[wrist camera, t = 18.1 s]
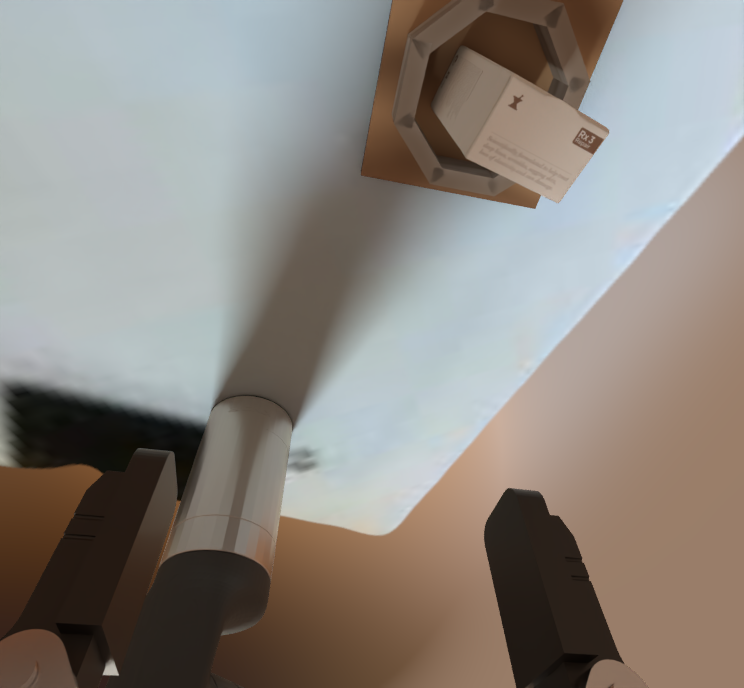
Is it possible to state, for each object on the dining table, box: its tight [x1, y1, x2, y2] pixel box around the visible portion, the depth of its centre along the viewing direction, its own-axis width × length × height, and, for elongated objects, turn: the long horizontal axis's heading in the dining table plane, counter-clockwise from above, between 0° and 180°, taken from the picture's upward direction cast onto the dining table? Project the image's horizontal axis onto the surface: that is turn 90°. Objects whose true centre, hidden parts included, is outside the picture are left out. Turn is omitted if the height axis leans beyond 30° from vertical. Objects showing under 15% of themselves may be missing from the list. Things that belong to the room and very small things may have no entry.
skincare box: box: [431, 45, 609, 203], centre depth 28 cm, size 6×4×12 cm
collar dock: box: [361, 0, 623, 209], centre depth 32 cm, size 14×14×4 cm
